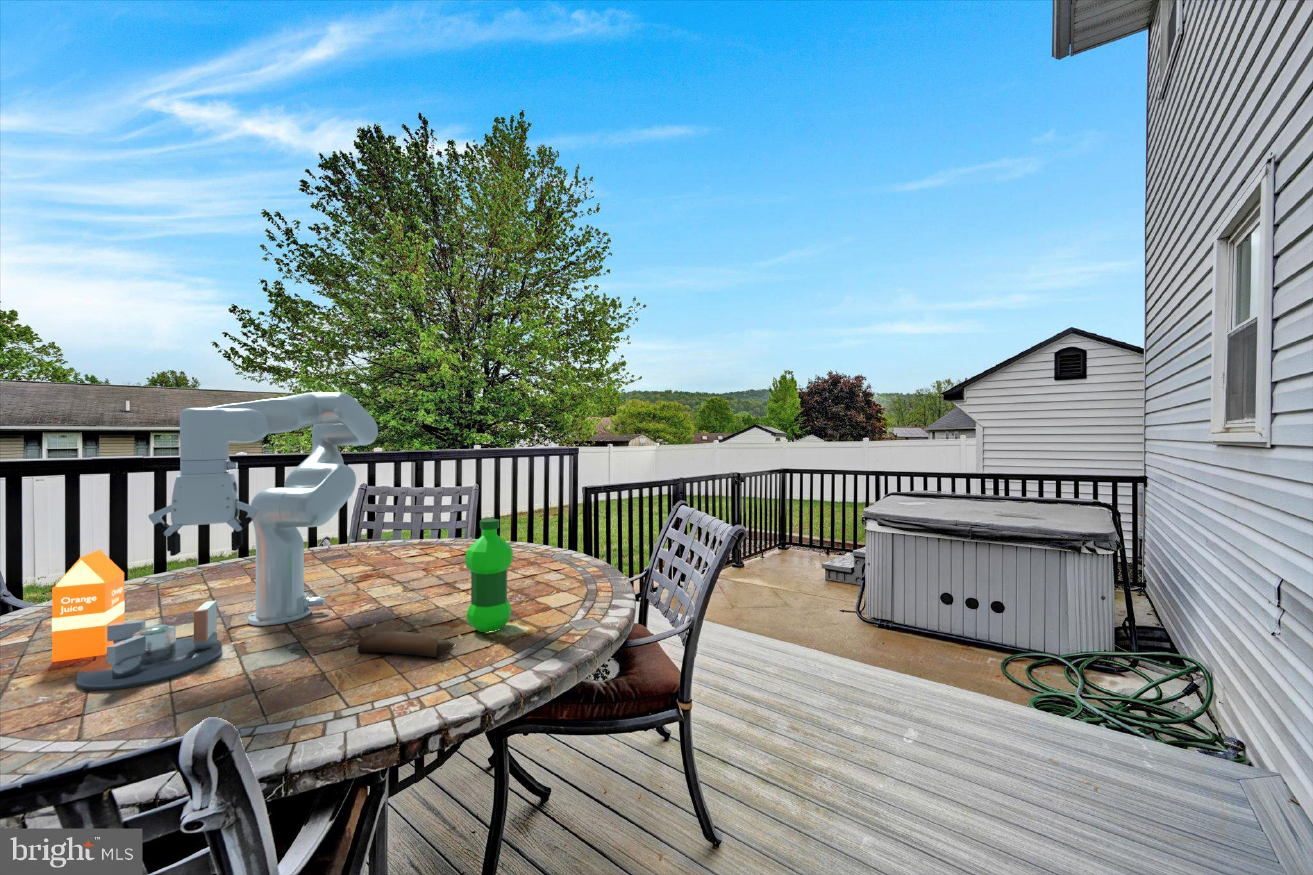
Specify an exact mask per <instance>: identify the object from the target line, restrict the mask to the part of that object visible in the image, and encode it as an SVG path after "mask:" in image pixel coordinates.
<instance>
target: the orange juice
mask: <svg viewBox="0 0 1313 875" xmlns="http://www.w3.org/2000/svg"><path fill="white" fill-rule="evenodd" d="M51 588H52V589H51V590H52V595H51V596H52V597H51V598H52V601H51V603H52V604H51V605H52V611H51V613H52V616H51V633H52V638H51V639H52V644H51V646H52V648H51V653H52V655H51V656H52V657H51V661H52V663H55V662H63V661H69V660H76V659H84V658H92V657H98V656H106V655H107V646H110V645H113V641H109V642H107V626H108V625H110V624H112V623H121V622H125V572H124V571H123V570H122V569H121V568H120V567H119V566H118V565H117V564H116V563H114V561H113V560H112V559H110V557H108V555H106V554H105V553H104V551H102V550H101V549H99V550H98V549H97V550H96V551H93V552H90V553H87V554H85V555H83V556H81V557H80V556H79V559H78V560H76V562H75V563H74V564H73V565H72V566H71V568H70V569H69V570H67V572H66V573H65V574H64V575H63V576H62V578H61V579H59V581H58V582H56V584H55V585H54V587H51Z"/></svg>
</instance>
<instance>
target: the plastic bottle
mask: <svg viewBox="0 0 1313 875" xmlns="http://www.w3.org/2000/svg"><path fill="white" fill-rule="evenodd" d="M499 528H500V519H496V518H487V519H486V518H485V519H481V520H479V529H480V530H481V531H482V532H481V534H482V535H481V536H480V537H479V538H477V540H476V541H474V543H473V544H471V546H469V547H468V549H467V550H466V553H465V556H464V560H465V566H466V568H467V569H468V570H469V571H470V574H471V577H470V579H471V581H470V582H471V584H470V587H471V588H470V591H471V592H470V594H471V595H470V596H471V598H470V602H471V603H470V605H469V607H468V610H467V611H466V619H467V622H468V624H469V625H470V627H472V628H473V629H475V630H476V631H477V630H478V631H481V632H489V631H495V630H498V629H500V628H501V629H502V628H503V627H504V626H506V624H508V623H509V622H508V621H509V619H510V617H511V613H512V605H511V602H510V601H509V599H508V569H509V567H511V564H512V562H513V557H514V551H513V548H512V545H511V544H509V543H508V542H507V541H506V540H505V539H503V538H502V537H500V536H499V535H498V534H497V533H498V532H497V531H498V529H499ZM501 629H500V630H501ZM478 631H477V632H478Z"/></svg>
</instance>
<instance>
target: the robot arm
mask: <svg viewBox="0 0 1313 875" xmlns="http://www.w3.org/2000/svg"><path fill="white" fill-rule="evenodd" d="M311 426H313V427H312V429H311V438H312V452H311V453H310V455H308V456H307V457H306V458H305V459H303V461H302V462H301V463H300V464H299V465H297V467H295V468H294V469H292V471H291V472H290V473H289V474H288V475H287V477H286V479H285V481H284V487H271V488H265V489H263V490H261V491H260V492H258V493H256V495H255V496H254V497H253V498H252V500H251V502H250V504H248V503H245V502H242V501H239V490H238V484H237V480H236V476H235V474H234V473H230V472H231V470H234V469H238V467H239V464H238V461H231V459H230V446H229V444H248V443H249V444H250V443H255V442H258V441H260V440H262V439H264V438H265V437H266V436H267V435H268V434H280V433H288V432H293V431H296V430H299V429H304V428H308V427H311ZM378 432H379V429H378V425H377V422H376V421H375V419H374V417H373V416H372V415H371V414H370V413H369V412H368V411H367V410H366V409H365V407H363V405H362V404H361V403H359V401H357V400H356V399H355V398H354V397H352V396H351V395H350V394H348V393H346V392H340V391H339V392H337V391H336V392H335V391H334V392H333V391H330V392H329V391H326V392H323V391H321V392H319V391H314V392H304V393H299V394H294V395H289V396H283V397H277V398H276V397H275V398H267V399H259V400H254V401H253V400H252V401H247V402H246V401H245V402H237V403H230V404H223V405H222V404H221V405H215V406H211V407H190V408H189V407H188V408H184V409H183V410H181V411H180V414H179V447H180V448H179V449H180V450H179V456H180V458H179V459H180V461H179V462H180V465H179V467H180V475H177V476H176V477H175V479H174V484H173V485H174V486H173V488H172V495H171V496H172V497H171V504H169V505H167V506H166V507H163V508H161V509H158V510H156V511H154V512H152V513H149V515H148V519H149V520H150V521H151V523H152V524H153V525H154V528H155V529H157V530H158V531H160V532H161V533H162V534H163V535H164V536H165V537H166V550H167V552H170V553H169V554H170V555H169V556H170V557H174V556H176V555H178V554H180V553H181V548H182V547H181V543H182V542H181V534H180V532H179V530H180V529H181V528H182V527H183V526H199V525H201V526H203V525H214V524H215V525H216V524H217V525H218V524H227V525H228V526H230V528H232V529H233V531H232V532H231V533H230V534H231V540H230V541H231V551H238V550H239V549H240V548H241V546H243V544H244V534H243V533H244V531H243V530H244V529H245V528H246V527H247V526H248V525H249V524H251V523H252V524H253V528H254V529H253V530H254V535H255V537H254V538H255V611H254V612H253V613H251V614H249V615H248V617H247V624H249V625H251V626H258V627H259V626H261V627H262V626H265V627H266V626H273V625H281V624H287V623H291V622H294V621H298V620H301V619H303V618H306V617H308V616H309V615H310V614H311V613H312V607H317V608H318V607H324V606H325V602H326V601H325V597H321V596H316V597H310V596H309V597H308V594H307V592H304V591H305V590H304V589H305V586H304V585H305V582H304V581H305V579H304V578H305V575H304V574H305V570H304V569H305V562H304V560H305V555H304V554H305V544H304V539H303V536H302V533H300V531H299V529H298V528H316V527H321V526H323V525H325V524H327V523H328V522H330V521H331V519H332V518H333V517H334V516H335V515H336V514H337V513H338V512H339V510H341V508H343V506H344V505H345V504H346V503H347V502H348V500H349V499H350V498H351V496H353V493H354V491H355V488H356V484H357V476H356V474H355V471H354V470H353V468H352V467H351V466H349V465H347V464H345V463H344V459H343V456H342V454H341V453H340V451H339V449H338V446H368V445H371V444H373V443H374V442H375V441H376V439H377V437H378V434H379V433H378ZM240 510H241V511H243V512H244V511H245V512H246V513H247V515H246V516H245V518H244V519H242V520H240V519H239V516H240ZM169 513H170V519H171V525H170V524H168V523H167V522H165V521H164V519H163V517H164V516H165V515H167V514H169Z"/></svg>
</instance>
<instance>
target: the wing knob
mask: <svg viewBox="0 0 1313 875" xmlns="http://www.w3.org/2000/svg"><path fill="white" fill-rule="evenodd" d="M217 602H218V601H217V600H210V601H205V602H204V603H203V604H202V605H200V606H199V607H198V608H197V609H195V610H193V638H194V648H195V649H204V648H208V647H212V646H214V645H216V644H217V640H218V632H215V631H216V630H217V629H218V626H217V625H218V622H217V621H218V619H217V618H218V612H217V611H218V608H217V607H218V604H217Z"/></svg>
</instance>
